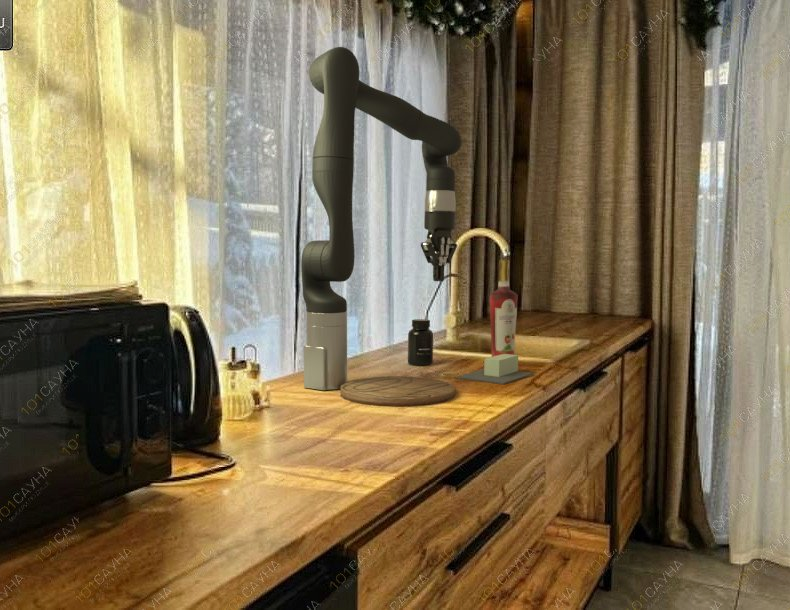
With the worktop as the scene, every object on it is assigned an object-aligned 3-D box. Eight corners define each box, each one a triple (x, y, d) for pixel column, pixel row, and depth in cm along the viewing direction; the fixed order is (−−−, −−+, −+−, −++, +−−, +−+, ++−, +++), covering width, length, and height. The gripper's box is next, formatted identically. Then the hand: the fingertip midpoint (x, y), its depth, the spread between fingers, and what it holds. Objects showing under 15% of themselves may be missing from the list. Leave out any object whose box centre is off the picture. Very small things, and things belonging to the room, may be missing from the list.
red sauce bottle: (509, 362, 205) (511, 259, 203) (521, 367, 198) (522, 260, 196) (484, 363, 203) (485, 260, 201) (495, 368, 196) (496, 260, 194)
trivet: (475, 392, 168) (475, 384, 168) (414, 414, 147) (414, 404, 147) (384, 380, 182) (384, 372, 182) (316, 398, 161) (316, 389, 161)
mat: (503, 384, 175) (503, 382, 175) (455, 378, 183) (455, 376, 183) (534, 374, 188) (534, 372, 188) (488, 369, 195) (488, 367, 195)
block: (499, 360, 182) (518, 355, 190) (484, 358, 184) (504, 353, 193) (498, 376, 182) (518, 370, 191) (484, 375, 185) (504, 369, 193)
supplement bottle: (423, 367, 198) (423, 321, 197) (402, 364, 202) (402, 320, 201) (438, 363, 204) (438, 319, 203) (417, 361, 208) (417, 317, 207)
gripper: (442, 212, 192) (440, 280, 193) (411, 208, 181) (410, 281, 182) (467, 211, 187) (465, 281, 188) (437, 208, 176) (435, 282, 178)
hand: (438, 281), depth 185 cm, fingers closed
